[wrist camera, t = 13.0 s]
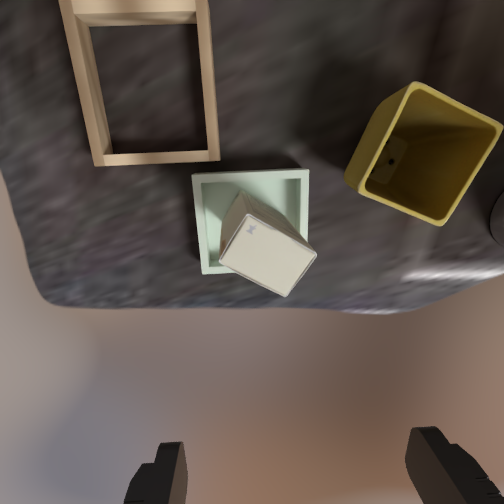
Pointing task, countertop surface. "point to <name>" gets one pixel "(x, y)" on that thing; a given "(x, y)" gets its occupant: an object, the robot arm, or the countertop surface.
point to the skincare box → (263, 245)
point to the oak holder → (83, 60)
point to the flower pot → (421, 152)
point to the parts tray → (256, 184)
